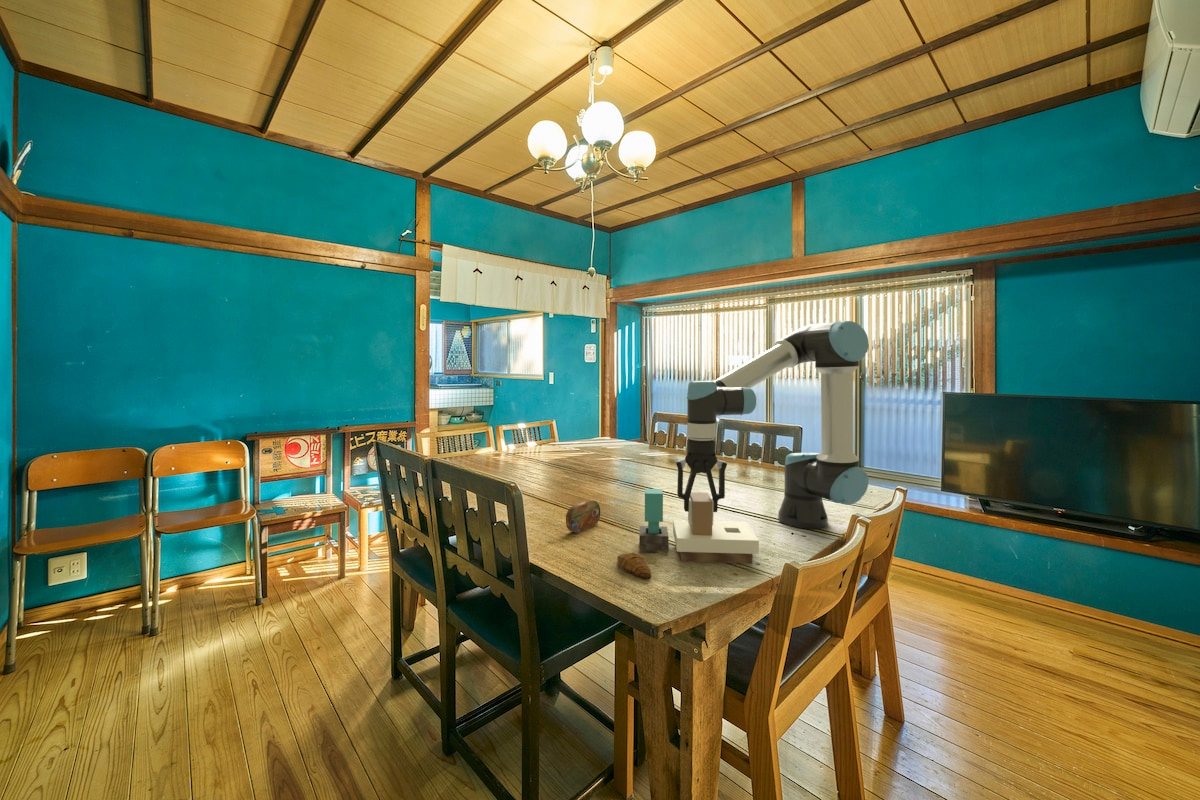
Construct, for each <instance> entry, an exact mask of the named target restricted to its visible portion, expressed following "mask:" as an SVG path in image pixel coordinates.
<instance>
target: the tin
mask: <svg viewBox="0 0 1200 800" xmlns="http://www.w3.org/2000/svg"><path fill="white" fill-rule="evenodd" d="M600 518H601V506H600V504H599V502H598V501H596V500H585V501H582V502H579V503H577V504H575V505H574V504H573V506H571V507H570V508H568V510H567V512H566V515H565V524H566V528H567V530H568V531H569V532H570V533H571V532H572V533H575V534H580V533H582V532H584V531H587V530H589V529H591V528H593V527H595V526H596V525H597V524H598V522H599V520H600Z"/></svg>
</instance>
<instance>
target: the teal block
mask: <svg viewBox="0 0 1200 800" xmlns="http://www.w3.org/2000/svg"><path fill="white" fill-rule="evenodd" d="M644 522H647V526H648V534H659V526H660V523H663V522H664V492H663V488H644Z"/></svg>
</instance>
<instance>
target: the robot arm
mask: <svg viewBox="0 0 1200 800" xmlns="http://www.w3.org/2000/svg"><path fill="white" fill-rule="evenodd" d="M868 350H869V337H868V335H867V332H866V331H865V329H864V327H862V326H861V325H860V324H859V323H858V322H856V321H852V320H837V321H831V322H823V323H813V324H808V325H805V326H803V327H801V328H799V329H797V330H795V331H793V332H790V333H789V334H788V335H786V336H784V337H782V338H781V339H779V340H777V341H776V342H775V343H774V346H773V347H771V348H770V349H767V350H765V352H762V353H760V354H759V355H757V356H755V357H754V358H752V359H750V360H747V362H745V363H743V364H741V365H739V366H737V367H736V368H734V369H733V370H730V371H729V372H727V373H725V374H724V375H722V376H720V377H718V378H717V379H714V380H692V381H689V382H688V385H687V394H686V395H687V397H686V399H687V408H686V409H687V411H686V412H687V416H686V417H687V422H686V423H687V426H686V427H687V428H686V429H687V431H686V433H687V434H686V436H687V440H686V455H685V458H684V459H680V460H679V459H676V461H675V464H676V468H677V486H676V487H677V493H676V495H677V497H678V498H679V499H682V500H683V510H684V512H687V521H688V524H689V525H692V500H691V498H690V494H691V492H692V489H693V486H694V482H695V478H696V477H697V474H701V473H702V474H705V475H706V478H707V482H708V486H709V490H710V494H711V500H712V502H713V508H712V525H713V521H714V513H718V508H719V507H718V504H719V503H718V502H719V500H721V499H722V500H723V499H725V496H726V495H725V494H726V493H725V492H726V488H725V487H726V486H725V485H726V482H725V481H726V473H725V471H726V470H727V466H728V463H727V462H726V461H725V460H721V459H718V457H717V454H716V451H717V450H716V449H717V447H716V443H717V441H716V439H715V438H716V436H717V424H716V423H717V416H719V417H720V416H738V415H740V416H743V415H749V414H752V413H753V412H754V411H755V409H756V407H757V395H756V393H755V391H754V390H753V389H752V388H753V387H755V386H756V385H758V384H761V383H762V382H763V381H765V380H767V379H769V378H771V377H772V376H774V375H775V374H777V373H779V372H781V371H783V370H784V369H786V368H789V369H790V368H794V367H796V366H797V365H799V364H803V363H809V362H811V363H812V362H815V364H814V367H815V369H816V370H817V371H818V372H819V373H820V406H821V407H820V415H821V417H820V418H821V420H820V421H821V422H820V423H821V424H820V426H821V430H820V431H821V435H820V436H821V451H820V452H793V453H789V454H787V455H786V456H785V463H784V496H783V498H782V499H783V500H782V502H781V505H780V507H779V510H778V516H777V517H778V521H779V522H780V523H782V524H784V525H787V526H790V527H794V528H799V529H809V530H810V529H811V530H813V529H815V530H817V529H823V528H826V527H828V523H829V522H828V520H829V517H828V515H827V511H826V508H825V504H824V502H823V499H824V500H825V499H826V500H827V501H831V502H833V503H835V504H841V505H847V506H848V505H849V506H850V505H855V504H856V503H858V502H859V501H860V500H861V499H862V498H863V497H864V496H865V494H866V492H868V491H867V490H868V487H869V476H868V473H867V472H866V471H865V470H864V469H863V468H862V467H860V458H859V457H858V456H857V455H856V454H855V453H854V373H855V371H857V369H858V368H860V361H861V360H862V359H863V358H865V356H866V354H867V353H868ZM686 464H687V466H688V467H689V469H690V471H689V477H688V480H687V484H686V486H685V491H683V490H684V488H683V487H684V486H683V484H684V468H685V467H686ZM716 465H717V468H718V493H717V490H716V489H717V488H716V485H715V482H714V478H713V474H712V470H713V469H714V467H715V466H716Z"/></svg>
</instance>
